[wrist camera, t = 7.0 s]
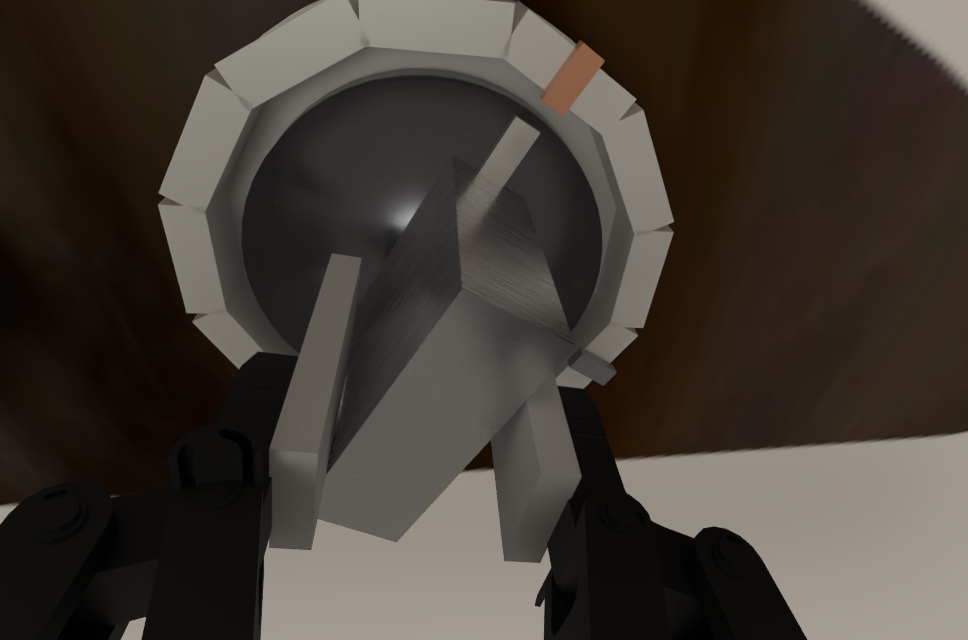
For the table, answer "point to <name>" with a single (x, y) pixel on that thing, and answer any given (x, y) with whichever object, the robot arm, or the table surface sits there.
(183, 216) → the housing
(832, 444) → the table surface
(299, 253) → the dial
